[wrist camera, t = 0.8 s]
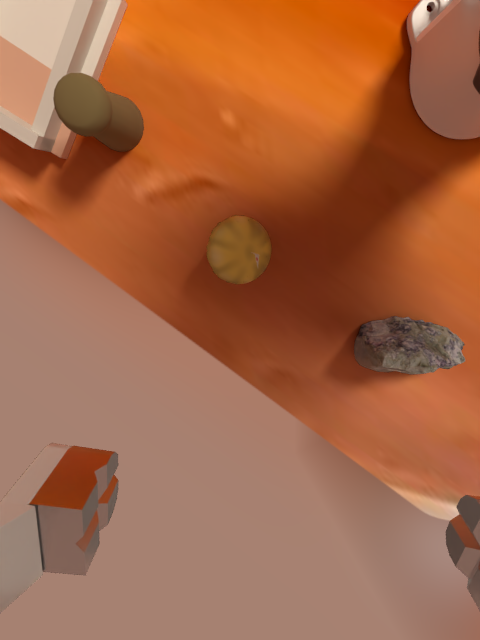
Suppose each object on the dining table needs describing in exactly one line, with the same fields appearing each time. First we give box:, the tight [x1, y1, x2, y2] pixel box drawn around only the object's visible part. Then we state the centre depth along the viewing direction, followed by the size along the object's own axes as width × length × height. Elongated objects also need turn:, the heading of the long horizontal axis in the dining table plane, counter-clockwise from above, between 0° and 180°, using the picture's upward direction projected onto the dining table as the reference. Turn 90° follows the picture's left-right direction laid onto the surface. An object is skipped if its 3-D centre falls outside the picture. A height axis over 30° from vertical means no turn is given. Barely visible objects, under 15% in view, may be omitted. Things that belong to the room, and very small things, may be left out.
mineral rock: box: [354, 316, 465, 374], centre depth 45 cm, size 13×11×10 cm
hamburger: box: [207, 215, 271, 284], centre depth 40 cm, size 8×7×12 cm
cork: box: [53, 73, 144, 151], centre depth 36 cm, size 6×6×11 cm
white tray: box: [0, 0, 127, 159], centre depth 37 cm, size 18×14×5 cm
